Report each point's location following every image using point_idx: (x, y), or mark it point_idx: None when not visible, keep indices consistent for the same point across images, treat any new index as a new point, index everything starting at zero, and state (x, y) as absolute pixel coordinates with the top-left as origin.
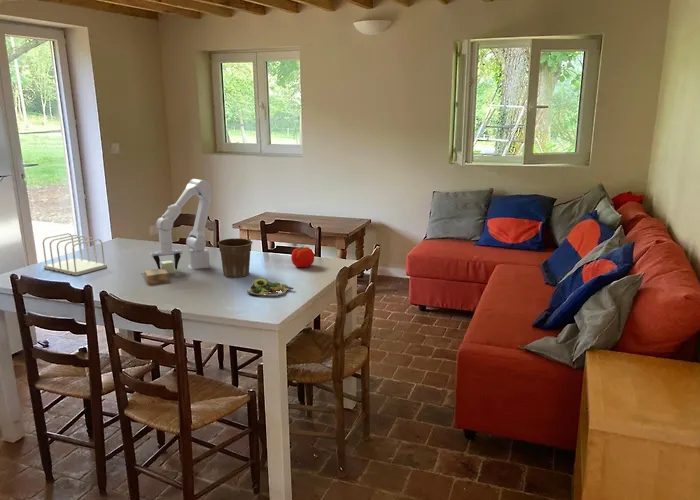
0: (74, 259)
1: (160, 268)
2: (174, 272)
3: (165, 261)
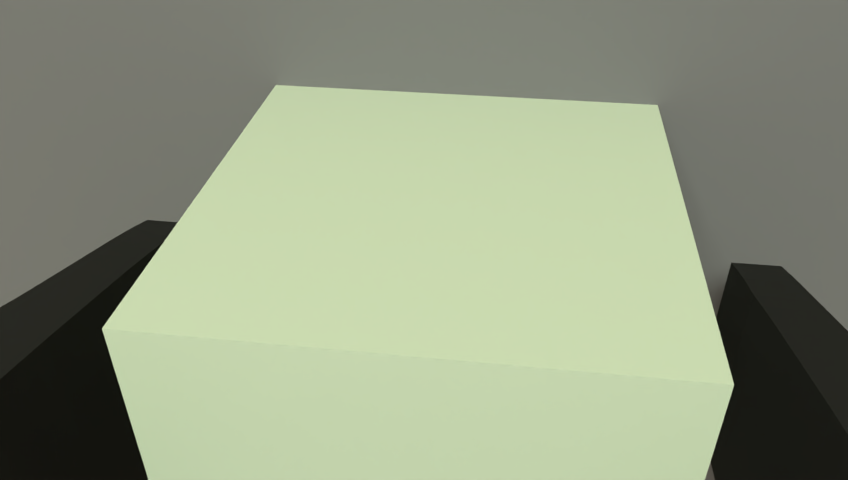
0: None
1: None
2: None
3: (344, 406)
